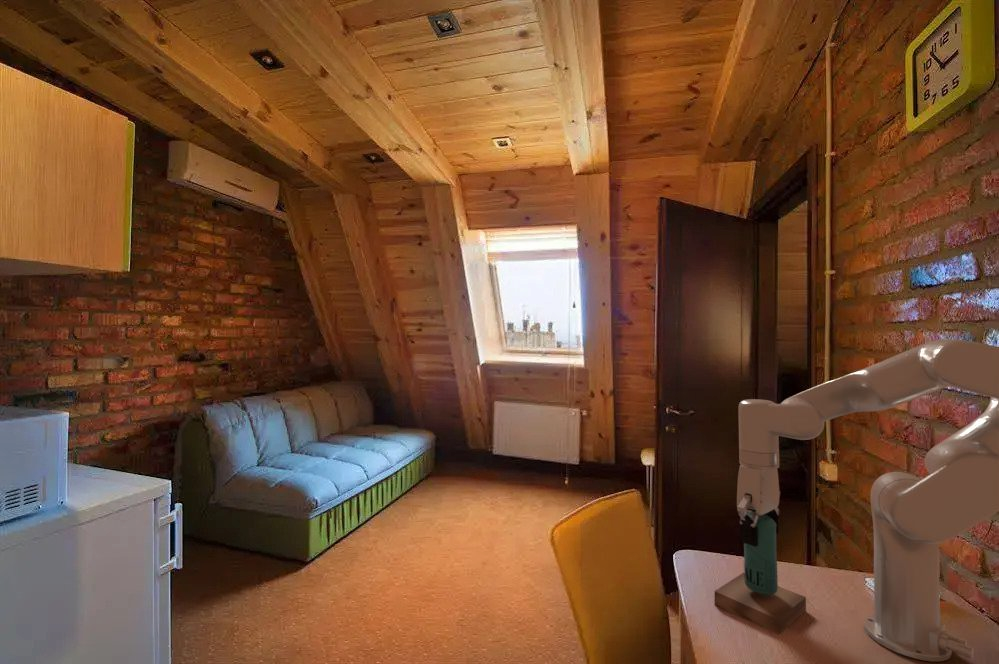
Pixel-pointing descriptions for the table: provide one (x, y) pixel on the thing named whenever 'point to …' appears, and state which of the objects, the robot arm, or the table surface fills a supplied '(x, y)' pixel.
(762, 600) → the walnut plinth
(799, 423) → the robot arm
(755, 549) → the beverage bottle
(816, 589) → the table surface
